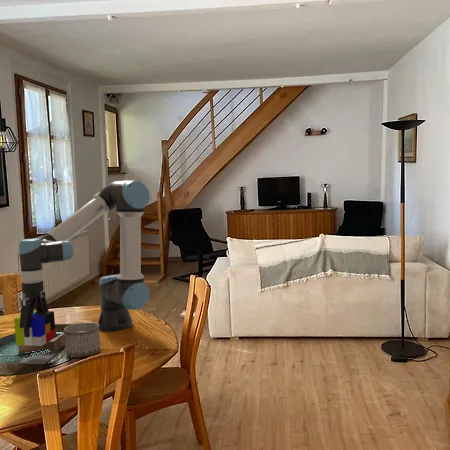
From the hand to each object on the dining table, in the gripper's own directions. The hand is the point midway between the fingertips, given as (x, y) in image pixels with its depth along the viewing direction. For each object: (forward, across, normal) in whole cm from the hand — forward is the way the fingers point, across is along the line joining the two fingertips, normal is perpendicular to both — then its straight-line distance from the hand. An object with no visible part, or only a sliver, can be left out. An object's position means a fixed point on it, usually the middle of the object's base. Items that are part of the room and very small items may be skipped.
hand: (36, 340), depth 186 cm
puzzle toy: (+1, 0, 0) cm, 1 cm away
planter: (+7, -6, +15) cm, 18 cm away
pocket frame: (+7, -18, -4) cm, 20 cm away
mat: (+7, 0, 0) cm, 7 cm away
